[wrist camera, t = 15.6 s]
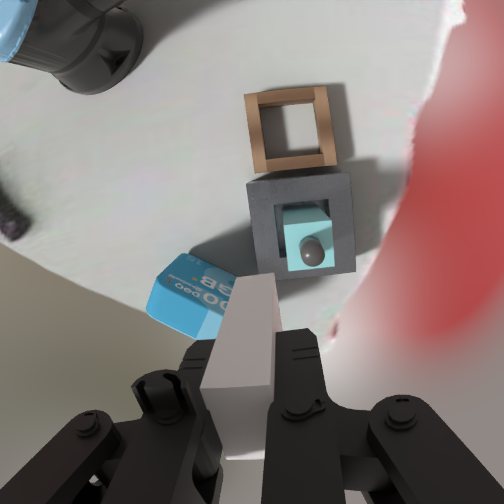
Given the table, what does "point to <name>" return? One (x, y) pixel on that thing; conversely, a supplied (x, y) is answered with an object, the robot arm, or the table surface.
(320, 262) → the plug
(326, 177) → the port block
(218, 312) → the data package
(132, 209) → the table surface
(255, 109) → the square wooden frame
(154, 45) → the table surface
